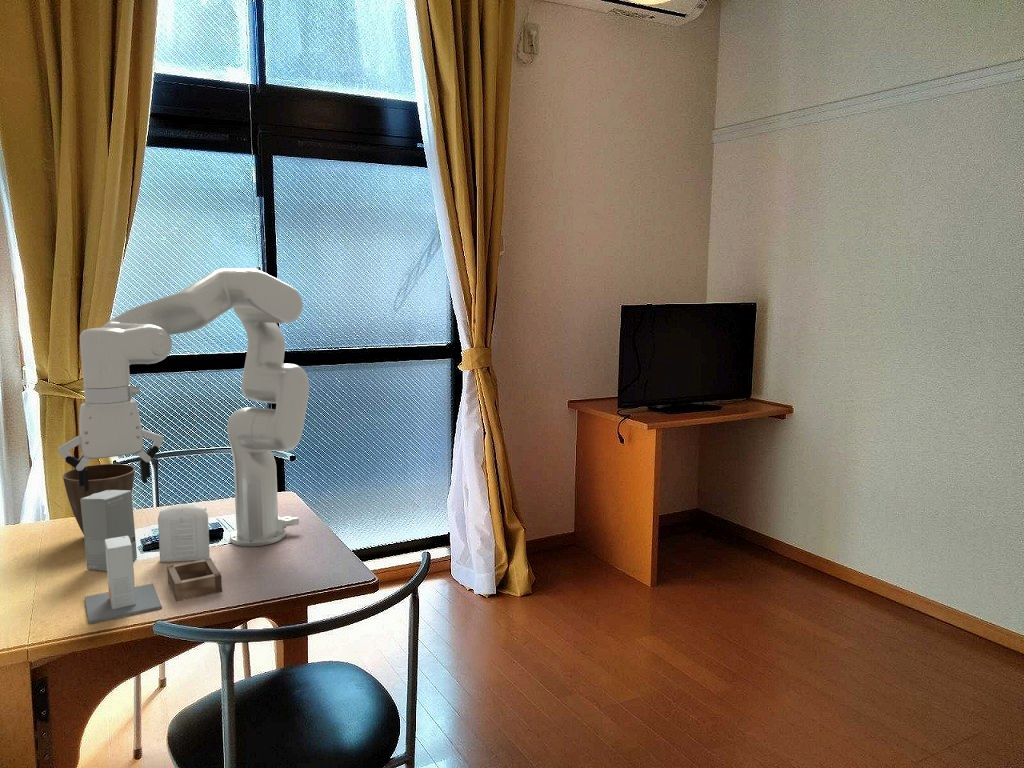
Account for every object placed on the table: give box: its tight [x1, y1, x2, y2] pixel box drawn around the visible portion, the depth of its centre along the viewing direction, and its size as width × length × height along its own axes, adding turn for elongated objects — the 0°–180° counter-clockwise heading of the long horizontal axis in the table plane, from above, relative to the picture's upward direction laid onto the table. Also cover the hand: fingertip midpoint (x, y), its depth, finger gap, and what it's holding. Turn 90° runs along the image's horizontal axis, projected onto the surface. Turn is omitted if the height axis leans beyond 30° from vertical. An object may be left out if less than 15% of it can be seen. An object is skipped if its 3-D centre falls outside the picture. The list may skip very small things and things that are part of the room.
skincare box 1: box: [80, 490, 138, 572], centre depth 159 cm, size 8×7×16 cm
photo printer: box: [157, 503, 211, 563], centre depth 163 cm, size 10×4×12 cm, turn 103°
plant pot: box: [62, 463, 136, 536], centre depth 176 cm, size 15×15×16 cm
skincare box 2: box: [105, 536, 136, 609], centre depth 140 cm, size 6×4×12 cm
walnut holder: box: [166, 557, 223, 602], centre depth 149 cm, size 8×10×4 cm
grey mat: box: [84, 583, 163, 625], centre depth 141 cm, size 12×12×1 cm
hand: (115, 485), depth 138 cm, fingers open, 9 cm apart
